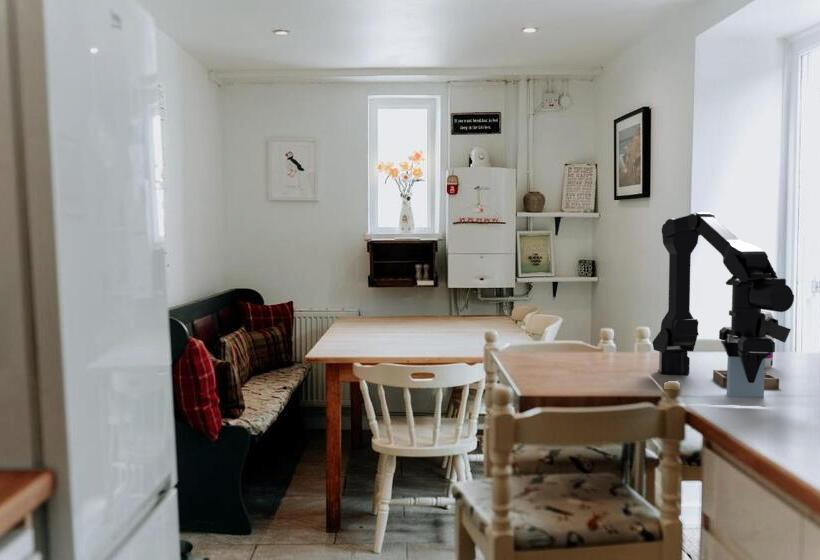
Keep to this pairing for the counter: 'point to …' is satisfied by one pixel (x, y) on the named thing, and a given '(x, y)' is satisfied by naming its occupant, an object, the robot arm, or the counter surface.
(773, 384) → the rack
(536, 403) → the counter surface
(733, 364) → the board
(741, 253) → the robot arm
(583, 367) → the counter surface
